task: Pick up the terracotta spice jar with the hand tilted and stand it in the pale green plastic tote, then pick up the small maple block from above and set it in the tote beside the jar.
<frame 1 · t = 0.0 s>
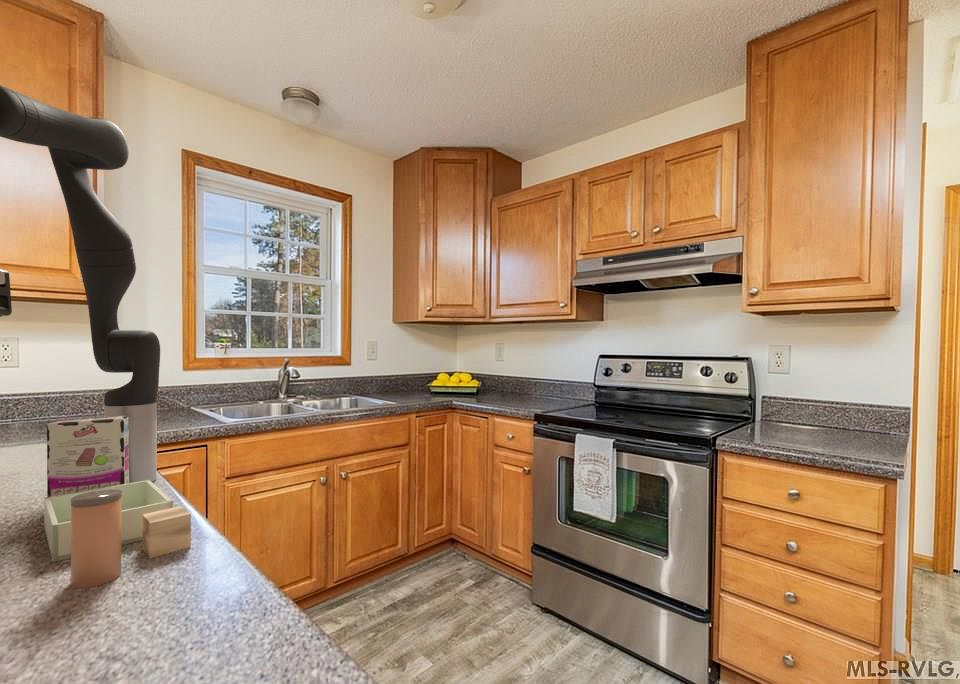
spice jar: (96, 578, 60), on the countertop
tote: (107, 530, 76), on the countertop
candy bar box: (90, 508, 87), on the countertop
maple block: (166, 548, 69), on the countertop
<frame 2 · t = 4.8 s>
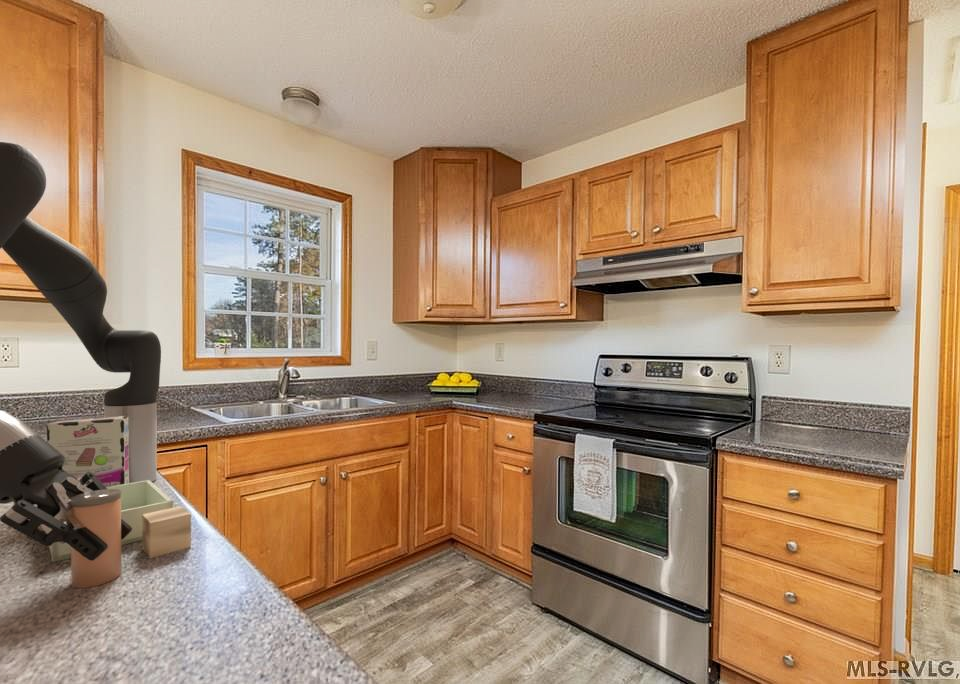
hand: (113, 544, 60), 4 cm above the countertop, tool tilted 45°, fingers closed on spice jar, 5 cm apart
spice jar: (97, 577, 60), on the countertop, touching gripper
everything else where it was.
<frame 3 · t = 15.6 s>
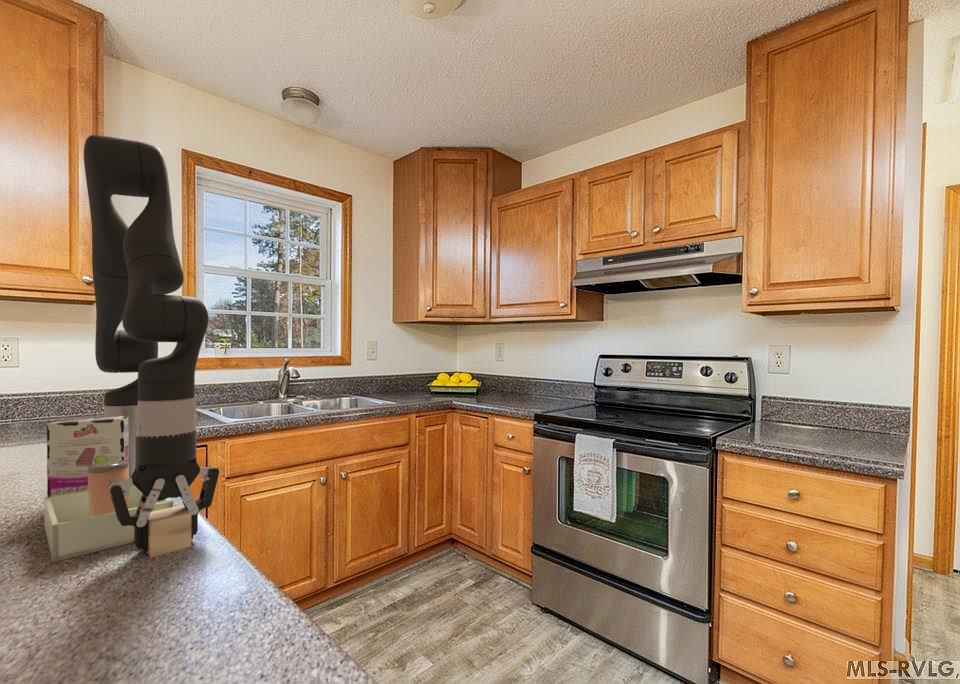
hand: (166, 543, 69), 0 cm above the countertop, tool pointing down, fingers closed on maple block, 5 cm apart
spice jar: (110, 532, 73), point 1 cm above the countertop, touching tote
maple block: (166, 547, 69), on the countertop, touching gripper
everything else where it was.
when the fingers open (4 cm above the countertop, at t = 21.2 s): maple block drops 3 cm, resting on tote.
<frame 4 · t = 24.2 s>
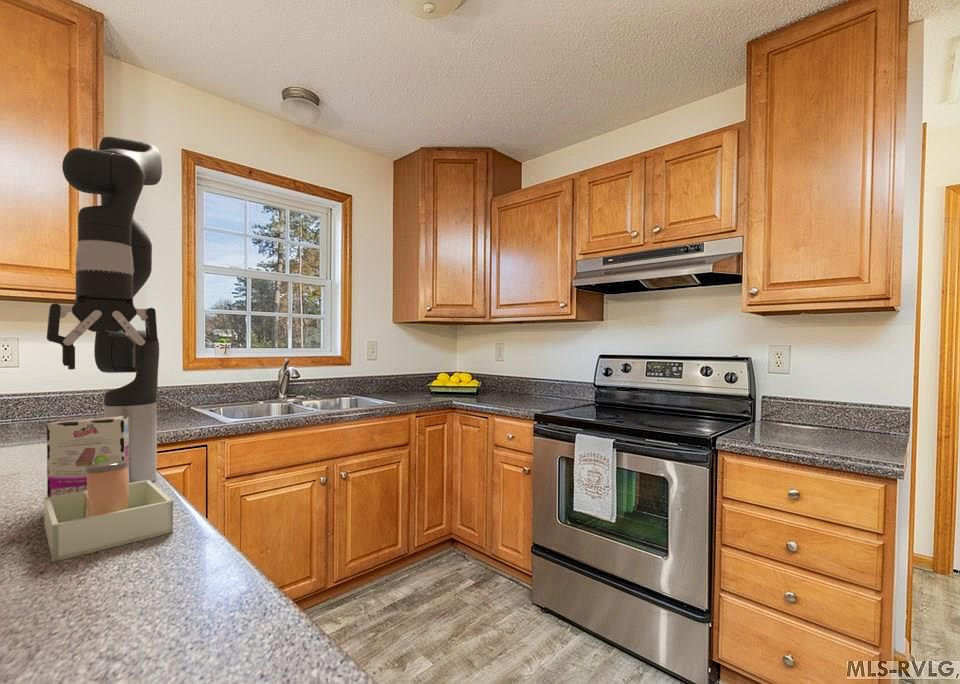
hand: (105, 368, 78), 26 cm above the countertop, tool pointing down, fingers open, 8 cm apart
maple block: (104, 521, 78), point 1 cm above the countertop, touching tote
everything else where it was.
at the end: spice jar inside the target area on the tote (3.5 cm from its centre), point 0.7 cm above the tote's base; maple block inside the target area on the tote (3.5 cm from its centre), point 0.6 cm above the tote's base; spice jar tilted 3° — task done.
